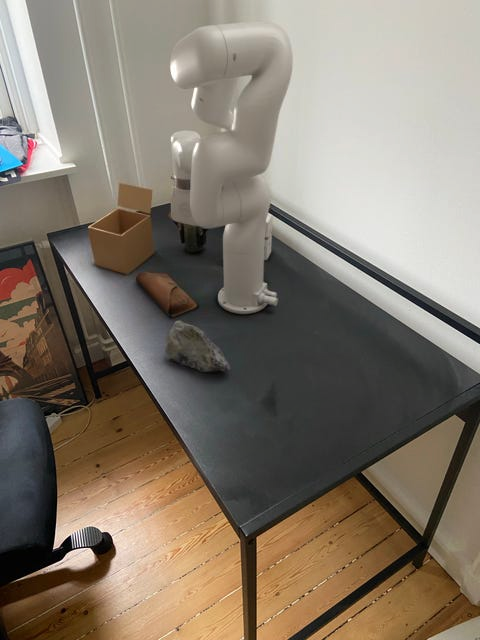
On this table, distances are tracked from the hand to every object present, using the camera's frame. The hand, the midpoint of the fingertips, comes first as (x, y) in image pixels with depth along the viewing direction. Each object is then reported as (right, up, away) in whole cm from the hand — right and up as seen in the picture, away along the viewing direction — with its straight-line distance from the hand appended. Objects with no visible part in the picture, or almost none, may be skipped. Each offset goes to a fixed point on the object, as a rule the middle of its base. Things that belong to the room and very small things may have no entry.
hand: (193, 242), depth 146 cm
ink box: (+17, -3, -1) cm, 17 cm away
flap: (-15, +11, -6) cm, 20 cm away
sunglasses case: (-5, -16, -17) cm, 23 cm away
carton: (-19, -5, -2) cm, 19 cm away
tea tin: (0, -1, +1) cm, 2 cm away
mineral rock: (+4, -31, -37) cm, 49 cm away
